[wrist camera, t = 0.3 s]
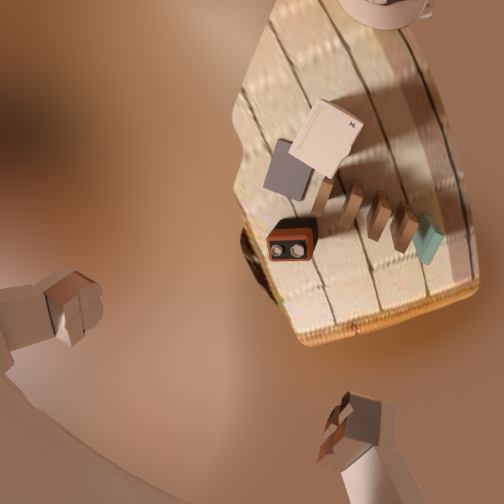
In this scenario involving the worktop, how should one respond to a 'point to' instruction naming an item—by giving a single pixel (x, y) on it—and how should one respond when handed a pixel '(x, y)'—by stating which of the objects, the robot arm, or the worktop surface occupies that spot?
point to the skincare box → (326, 137)
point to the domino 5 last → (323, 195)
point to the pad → (287, 173)
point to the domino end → (427, 238)
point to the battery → (293, 240)
